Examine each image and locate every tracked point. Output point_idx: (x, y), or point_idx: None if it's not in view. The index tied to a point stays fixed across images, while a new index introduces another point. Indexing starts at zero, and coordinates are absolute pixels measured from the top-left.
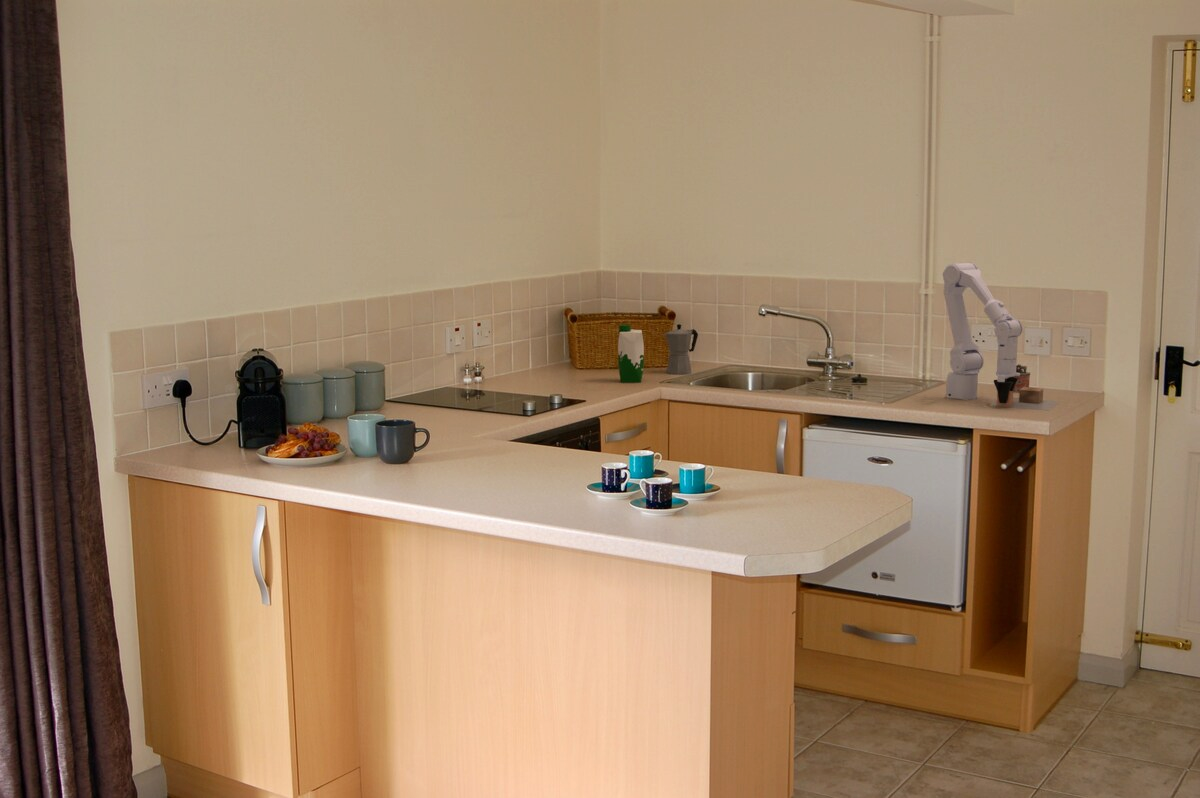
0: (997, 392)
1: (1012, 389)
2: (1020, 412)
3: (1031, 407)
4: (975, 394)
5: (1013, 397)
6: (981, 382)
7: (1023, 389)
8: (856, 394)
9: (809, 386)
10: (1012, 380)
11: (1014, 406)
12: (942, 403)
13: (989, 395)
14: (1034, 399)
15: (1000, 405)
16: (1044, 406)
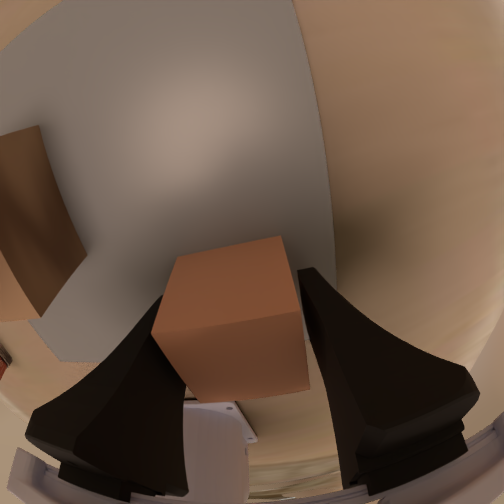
0: (309, 388)
1: (138, 358)
2: (353, 110)
3: (222, 63)
4: (192, 428)
5: (30, 323)
6: (6, 401)
7: (11, 297)
8: (292, 479)
9: (266, 493)
10: (117, 450)
11: (276, 200)
12: (302, 429)
13: (58, 387)
14: (27, 163)
15: (297, 292)
16: (105, 23)
